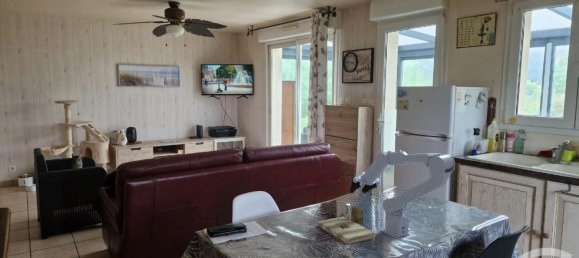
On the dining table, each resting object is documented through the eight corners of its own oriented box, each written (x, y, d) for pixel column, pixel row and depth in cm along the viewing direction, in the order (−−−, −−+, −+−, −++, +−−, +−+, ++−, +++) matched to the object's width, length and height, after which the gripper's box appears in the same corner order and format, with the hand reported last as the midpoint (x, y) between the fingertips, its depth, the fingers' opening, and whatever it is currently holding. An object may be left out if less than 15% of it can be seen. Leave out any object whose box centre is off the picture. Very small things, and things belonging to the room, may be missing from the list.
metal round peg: (352, 218, 176) (352, 204, 175) (343, 220, 174) (343, 205, 173) (345, 215, 181) (346, 201, 180) (337, 217, 178) (337, 202, 177)
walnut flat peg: (363, 224, 169) (363, 209, 168) (357, 225, 168) (358, 210, 167) (356, 220, 174) (356, 206, 173) (350, 221, 172) (351, 206, 171)
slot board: (375, 237, 154) (375, 232, 154) (347, 244, 147) (348, 239, 147) (343, 220, 173) (343, 216, 173) (317, 225, 167) (317, 221, 166)
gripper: (380, 166, 172) (364, 185, 180) (357, 165, 165) (341, 184, 172) (388, 178, 168) (371, 197, 175) (364, 177, 160) (347, 196, 167)
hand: (357, 191), depth 173 cm, fingers open, 7 cm apart
